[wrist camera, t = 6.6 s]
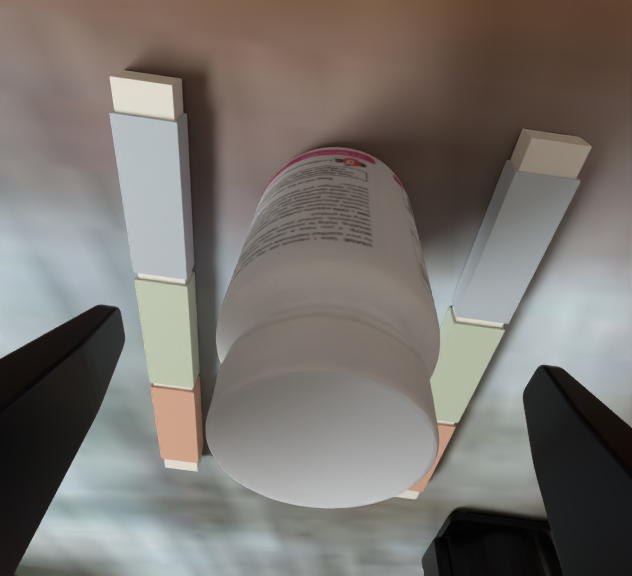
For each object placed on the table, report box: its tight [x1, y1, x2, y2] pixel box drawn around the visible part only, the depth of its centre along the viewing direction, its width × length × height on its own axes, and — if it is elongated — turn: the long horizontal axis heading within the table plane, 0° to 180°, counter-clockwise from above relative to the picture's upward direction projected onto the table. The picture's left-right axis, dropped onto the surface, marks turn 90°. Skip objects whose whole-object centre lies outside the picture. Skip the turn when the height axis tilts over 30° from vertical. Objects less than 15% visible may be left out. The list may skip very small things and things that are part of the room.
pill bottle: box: [206, 147, 440, 508], centre depth 11 cm, size 5×5×8 cm
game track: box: [109, 70, 592, 499], centre depth 13 cm, size 13×28×3 cm, turn 173°
